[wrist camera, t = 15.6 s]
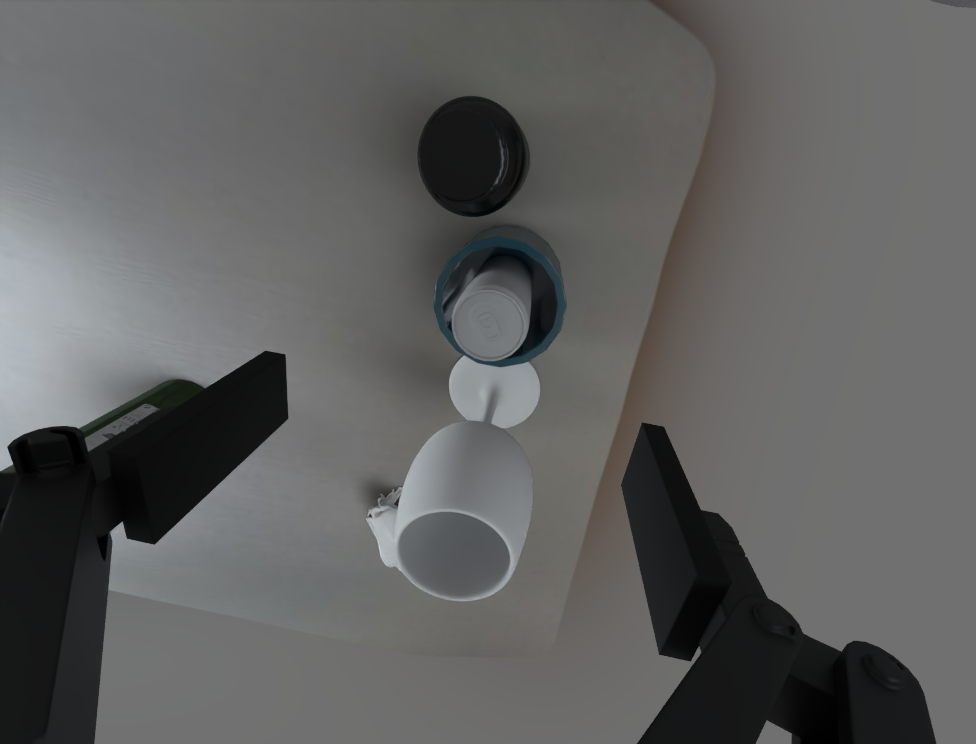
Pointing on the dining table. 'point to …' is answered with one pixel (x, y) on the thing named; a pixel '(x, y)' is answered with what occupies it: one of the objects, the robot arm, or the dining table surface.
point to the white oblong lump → (385, 526)
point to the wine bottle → (134, 412)
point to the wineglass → (470, 488)
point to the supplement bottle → (472, 156)
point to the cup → (545, 287)
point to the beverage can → (494, 309)
